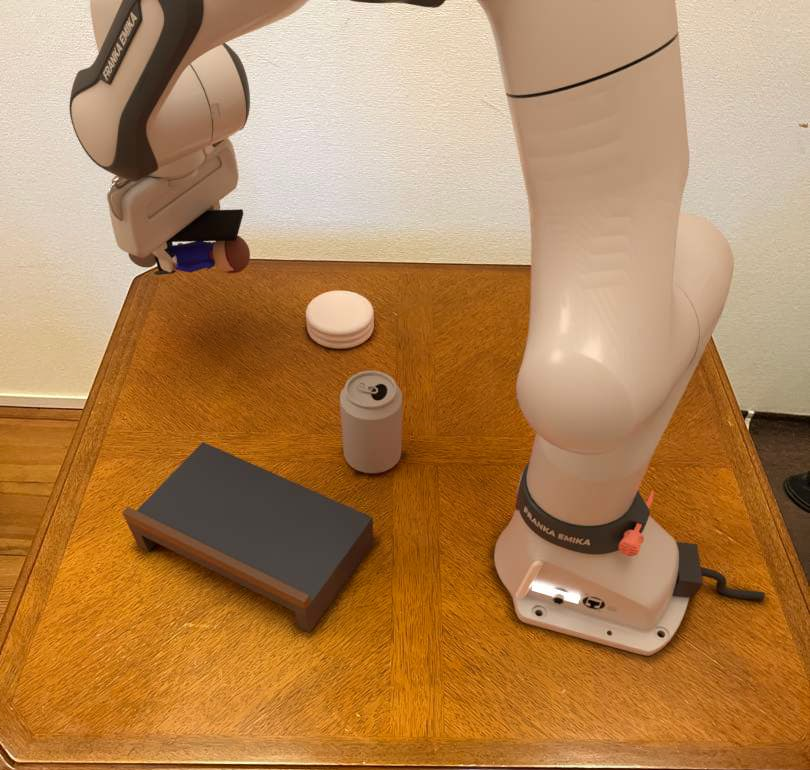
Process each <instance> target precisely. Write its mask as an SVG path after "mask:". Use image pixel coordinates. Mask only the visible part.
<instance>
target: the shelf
mask: <svg viewBox="0 0 810 770" xmlns="http://www.w3.org/2000/svg"><path fill="white" fill-rule="evenodd" d="M121 514H122V515H123V517H124V520H125V523H126V524H127V526H128V528H129V530H130V532H131V534H132V537H133V538H134V540H135V543H136V544H137V547H138V548H140V549H142V550H145V551H146V552H150V551H151V550H152V549H153V548H154V547H155V546H156V545H157V544H158V545H160V546H162V547H164V548H166V549H168V550H170V551H172V552H174V553H176V554H178V555H180V556H182V557H184V558H186V559H188V560H190V561H192V562H194V563H197V564H199V565H200V566H202V567H203V568H206V569H208V570H210V571H212V572H214V573H216V574H217V575H220V576H222V577H224V578H226V579H229V580H230V581H233V582H234V583H236V584H239V585H241V586H242V587H244V588H247V589H248V590H251V591H252V592H254V593H256V594H258V595H261V597H264V598H266V599H268V600H270V601H272V602H274V603H276V604H279V605H280V606H282V607H285V608H286V609H288V610H291V611H292V612H294V614H295V619H296V624H297V628H298V629H301V630H303V631H304V632H307V633H308V634H311V632H312V631H313V630H314V629H315V628H316V625H318V622H319V621H320V620H321V619H322V617H323V615H324V614H325V612H326V611H327V610H328V608H329V607H330V606H331V604H332V603H333V601H334V600H335V598H336V597H337V595H338V594H339V593H340V591H341V590H342V588H343V587H344V586H345V584H346V583H347V582H348V579H349V578H350V577H351V576H352V574H353V572H354V571H355V569H356V568H357V567H358V565H359V564H360V562H361V561H362V560H363V558H364V557H365V555H366V554H367V552H368V551H369V549H370V548H371V547H372V545H373V544H374V519H373V518H374V517H373V516H371V515H369V514H366V513H364V512H362V511H360V510H357V509H355V508H353V507H350V506H348V505H346V504H344V503H341V502H339V501H337V500H334V499H332V498H330V497H328V496H325V495H324V494H322V493H319V492H316V491H314V490H312V489H310V488H307V487H306V486H303V485H301V484H299V483H297V482H294V481H292V480H291V479H290V480H289V479H287V478H285V477H283V476H281V475H279V474H276V473H274V472H272V471H269V470H267V469H264V468H263V467H260V466H258V465H256V464H253V463H251V462H249V461H247V460H245V459H242V458H240V457H238V456H235V455H234V454H231V453H228V452H227V451H224V450H222V449H220V448H218V447H215V446H213V445H210V444H209V443H206V442H205V441H202V442H201V443H200V444H199V445H198V446H197V447H196V448H195V449H194V450H193V451H192V452H191V453H190V454H189V455H188V456H187V457H186V459H184V461H183V462H181V463H180V465H178V467H177V468H176V469H175V470H174V471H173V472H172V473H171V474H170V475H169V476H168V477H167V478H166V479H165V480H164V481H163V482H162V483H161V484H160V485H159V487H157V488H156V489H155V490H154V492H152V494H151V495H150V496H149V497H148V498H146V500H145V501H144V502H143V503H142V504H141V505H140V506H139V507H138V508H137V509H134V508H132V507H130V506H127V507H126V508H124V510H123V511H122V512H121Z"/></svg>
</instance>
